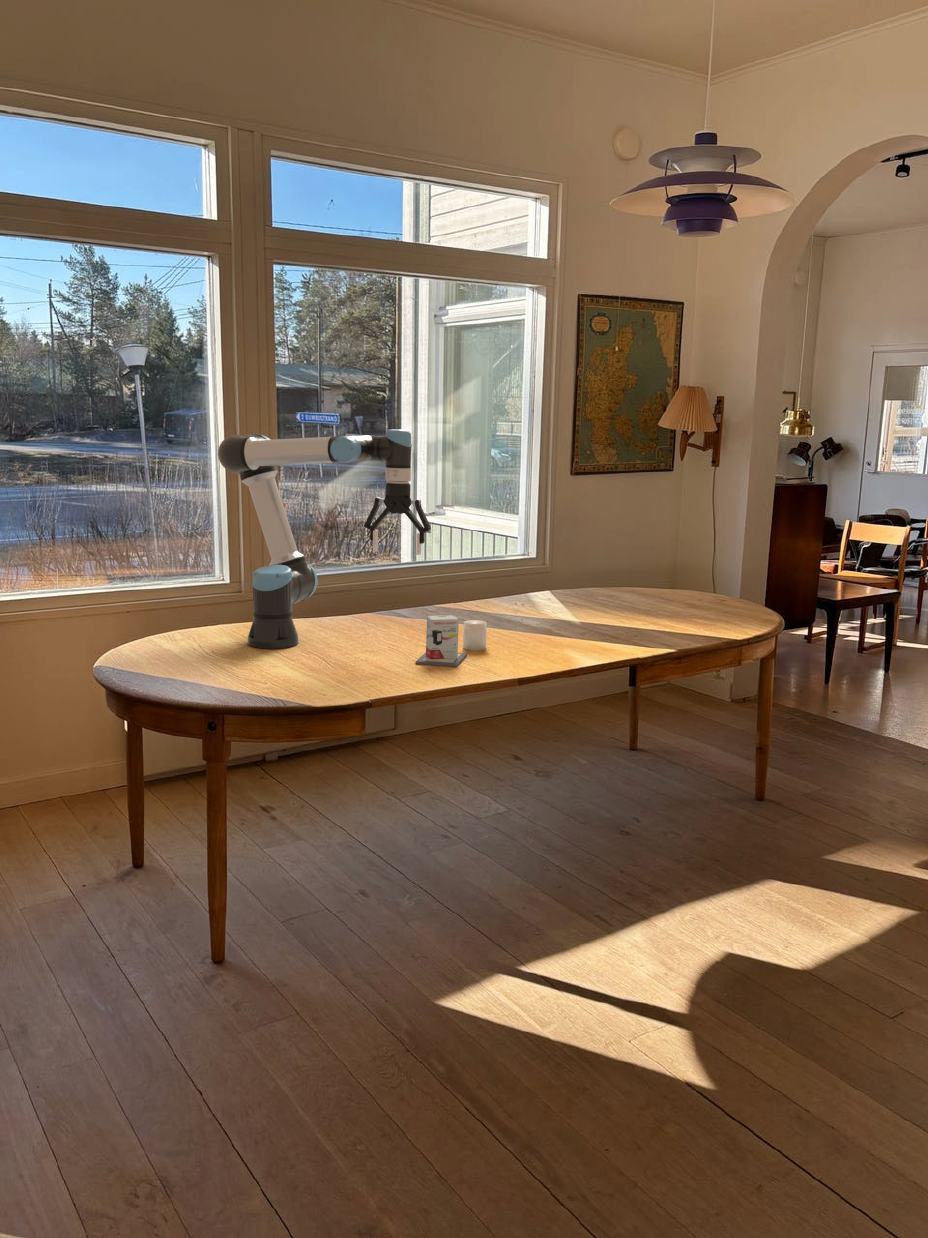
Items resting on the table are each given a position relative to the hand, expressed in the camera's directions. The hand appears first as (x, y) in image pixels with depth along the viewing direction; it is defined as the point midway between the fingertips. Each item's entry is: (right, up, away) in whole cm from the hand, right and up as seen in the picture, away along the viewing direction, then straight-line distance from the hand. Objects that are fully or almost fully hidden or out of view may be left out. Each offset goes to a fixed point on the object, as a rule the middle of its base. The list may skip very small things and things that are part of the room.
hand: (396, 553), depth 305 cm
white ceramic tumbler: (+23, -29, +5) cm, 38 cm away
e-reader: (+14, -32, -11) cm, 36 cm away
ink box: (+14, -31, -11) cm, 36 cm away
